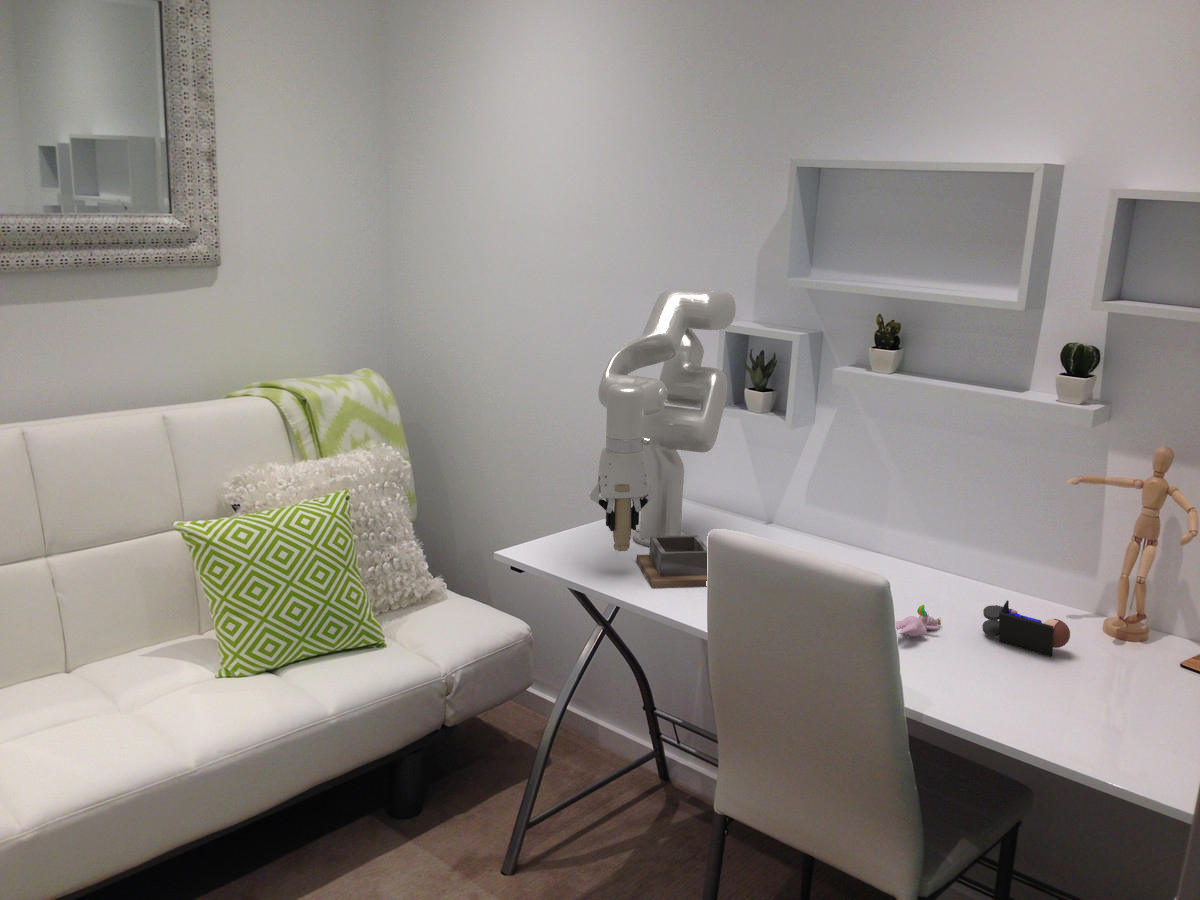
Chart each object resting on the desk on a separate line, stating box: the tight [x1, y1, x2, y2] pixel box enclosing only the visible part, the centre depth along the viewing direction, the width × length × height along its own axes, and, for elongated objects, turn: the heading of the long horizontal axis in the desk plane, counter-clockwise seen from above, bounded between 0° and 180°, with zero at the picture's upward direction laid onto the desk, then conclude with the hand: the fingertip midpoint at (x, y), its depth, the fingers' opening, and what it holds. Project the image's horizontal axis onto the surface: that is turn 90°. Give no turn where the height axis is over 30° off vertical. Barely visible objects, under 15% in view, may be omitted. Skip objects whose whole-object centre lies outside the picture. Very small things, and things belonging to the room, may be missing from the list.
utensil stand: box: [635, 535, 708, 589], centre depth 220 cm, size 16×15×6 cm
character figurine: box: [982, 600, 1071, 658], centre depth 190 cm, size 8×7×15 cm
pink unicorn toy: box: [895, 604, 942, 638], centre depth 193 cm, size 6×6×15 cm
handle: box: [612, 485, 632, 552], centre depth 216 cm, size 5×6×15 cm
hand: (622, 527), depth 217 cm, fingers closed on handle, 4 cm apart
